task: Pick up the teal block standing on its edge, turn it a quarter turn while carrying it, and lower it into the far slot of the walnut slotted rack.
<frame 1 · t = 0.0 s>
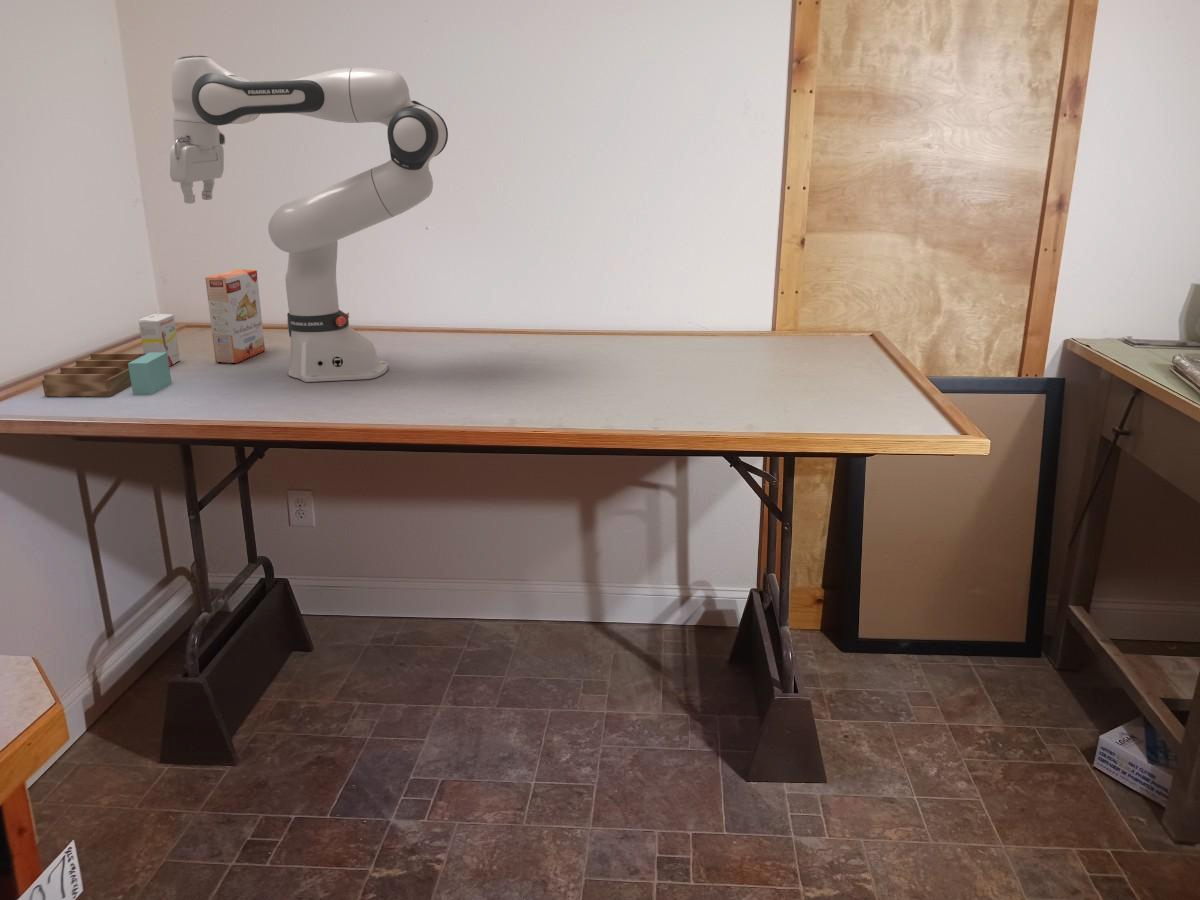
hand: (198, 201, 214), 39 cm above the table, tool pointing down, fingers open, 8 cm apart
ink box: (163, 366, 234), on the table
rack: (101, 384, 217), on the table
cracker box: (241, 358, 241), on the table
teal block: (152, 388, 214), on the table
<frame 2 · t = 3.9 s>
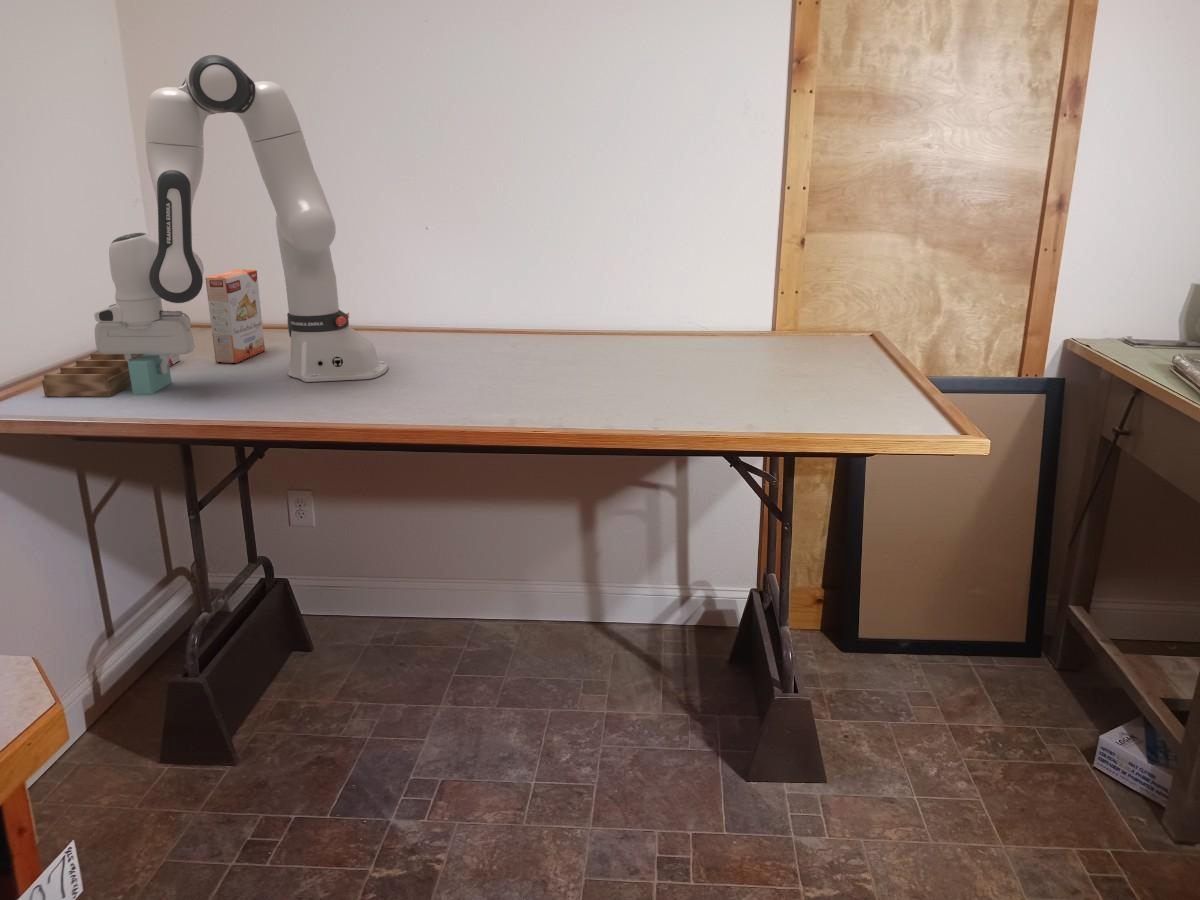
hand: (150, 373, 213), 3 cm above the table, tool pointing down, fingers closed on teal block, 4 cm apart
teal block: (152, 388, 214), on the table, touching gripper
everything else where it was.
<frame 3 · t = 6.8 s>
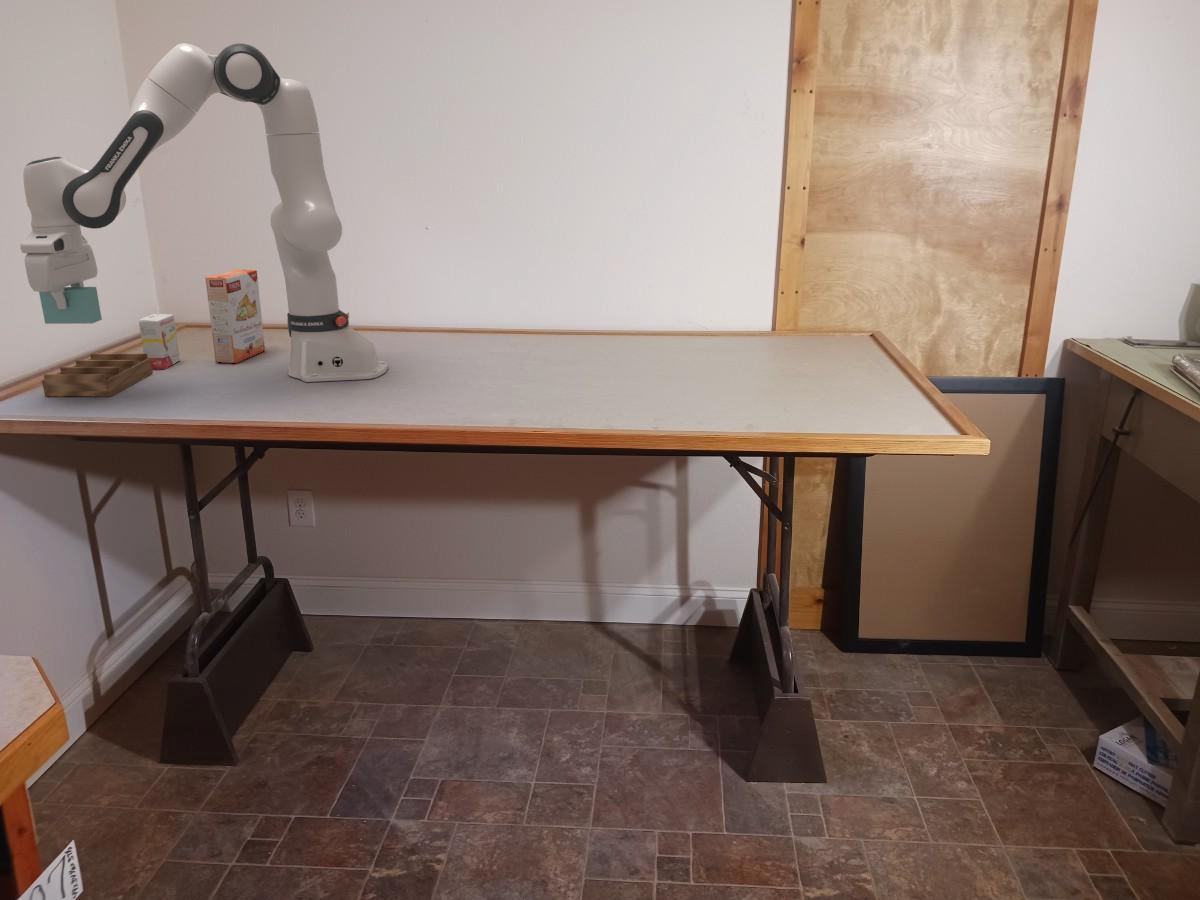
hand: (70, 306, 205), 19 cm above the table, tool pointing down, fingers closed on teal block, 4 cm apart
teal block: (73, 321, 206), point 16 cm above the table, touching gripper
everything else where it was.
when the fingers open (5 cm above the table, at t = 9.5 s): teal block stays where it is, resting on rack.
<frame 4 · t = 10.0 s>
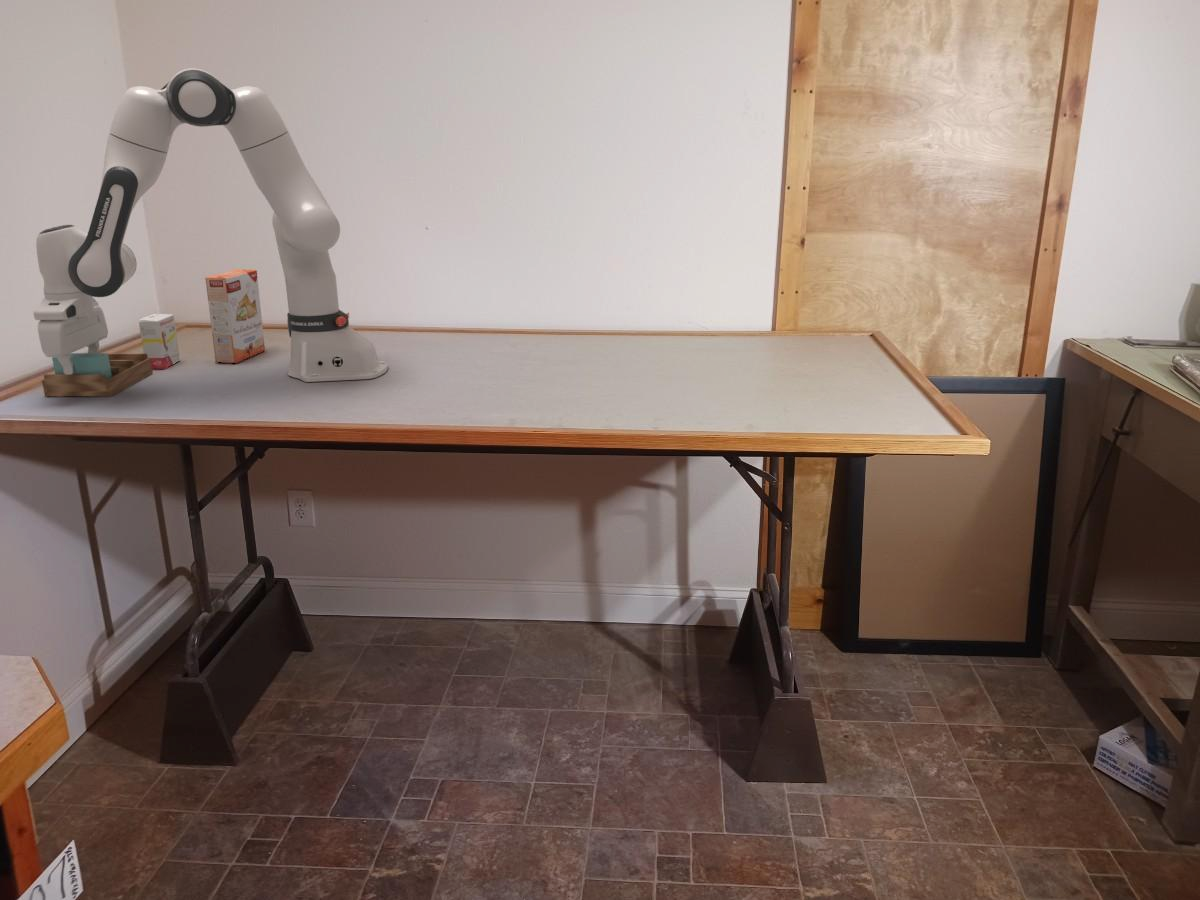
hand: (82, 368, 209), 5 cm above the table, tool pointing down, fingers open, 8 cm apart
teal block: (86, 387, 211), point 1 cm above the table, touching rack
everything else where it was.
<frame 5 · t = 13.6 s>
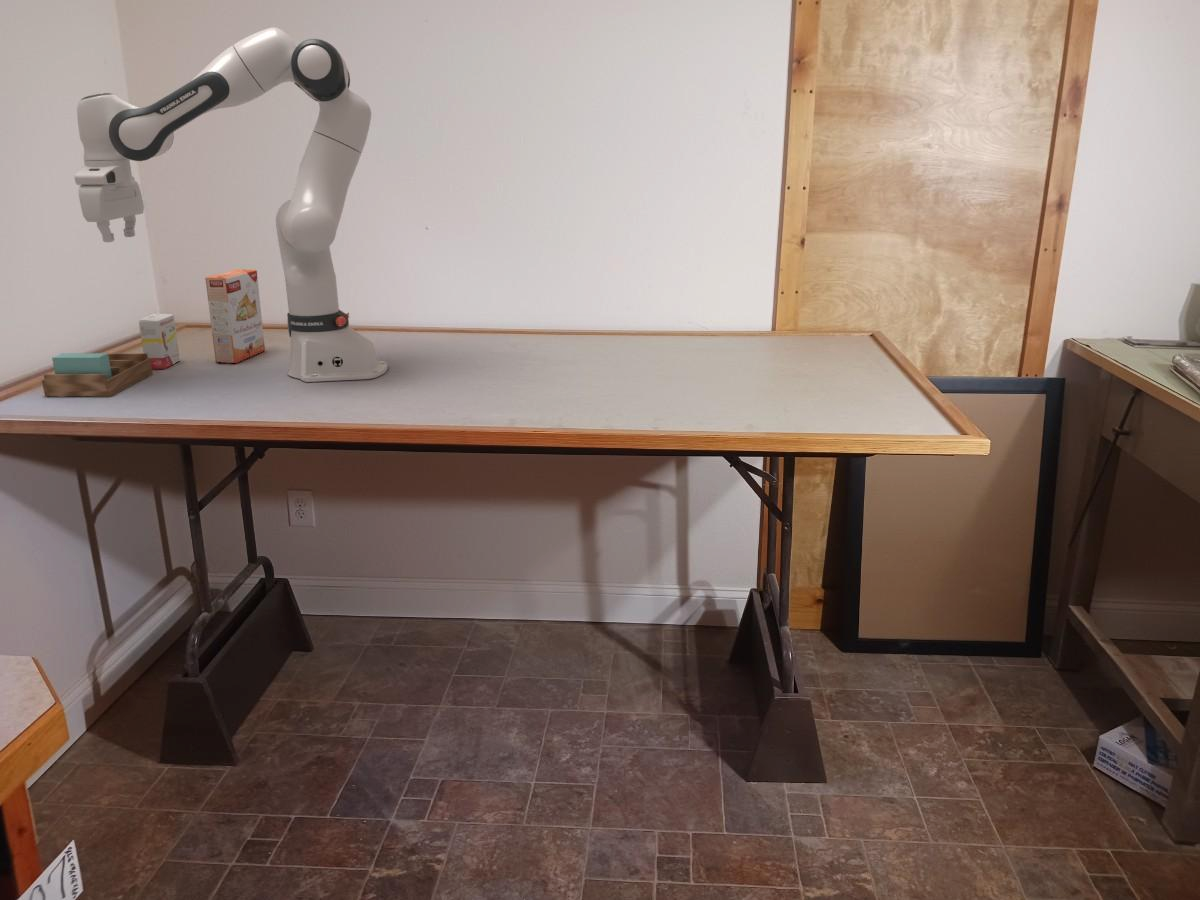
hand: (119, 239, 214), 31 cm above the table, tool pointing down, fingers open, 8 cm apart
nothing on the table moved.
at the end: teal block inside the target area (0.1 cm from its centre), point 1.2 cm above the table; teal block tilted 0°; the gripper is holding nothing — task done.
